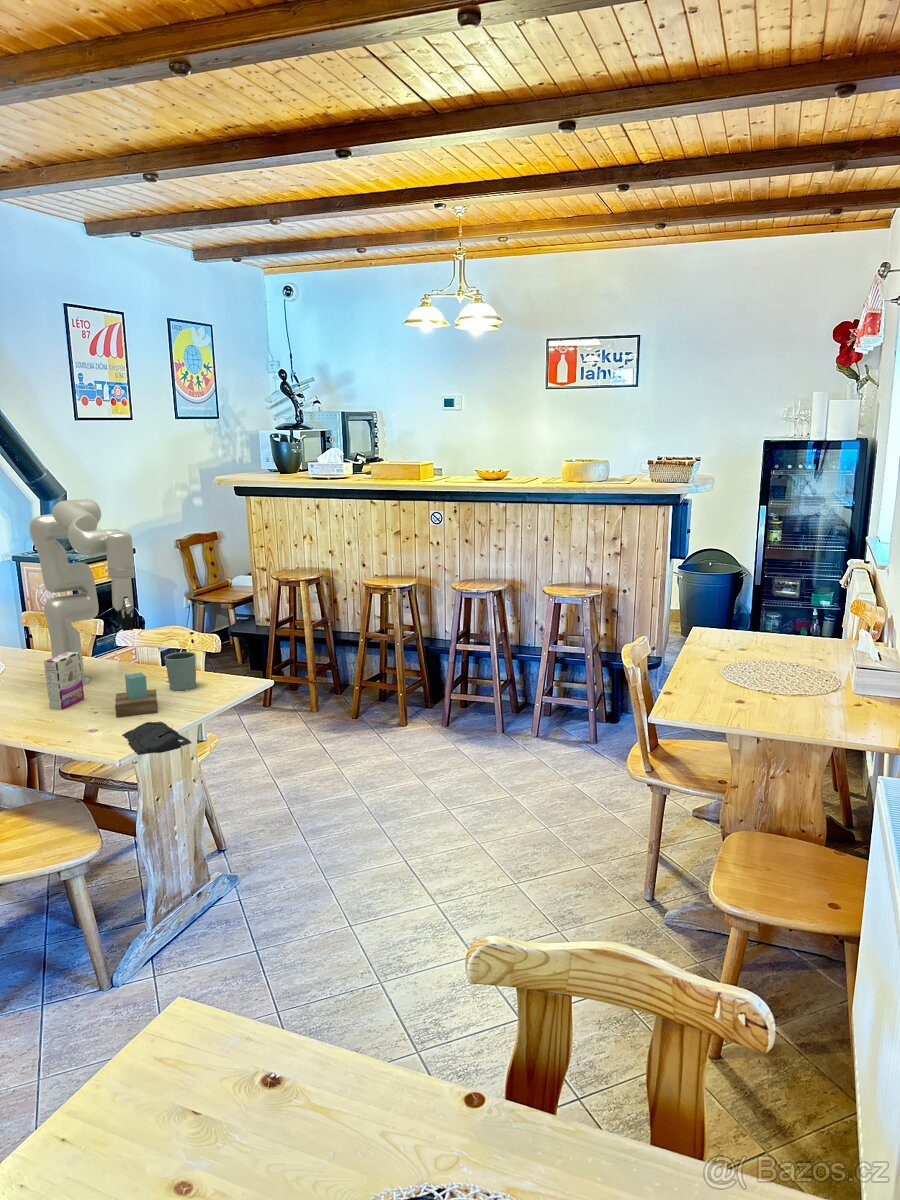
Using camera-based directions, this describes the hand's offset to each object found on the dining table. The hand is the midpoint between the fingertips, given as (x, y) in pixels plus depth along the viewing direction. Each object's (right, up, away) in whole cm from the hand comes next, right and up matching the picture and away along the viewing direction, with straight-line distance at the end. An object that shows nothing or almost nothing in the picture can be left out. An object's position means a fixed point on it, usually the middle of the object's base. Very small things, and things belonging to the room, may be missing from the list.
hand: (125, 626), depth 248 cm
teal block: (+2, -22, +4) cm, 23 cm away
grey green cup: (+9, -23, +27) cm, 36 cm away
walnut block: (+2, -27, +5) cm, 28 cm away
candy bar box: (-23, -26, +11) cm, 37 cm away
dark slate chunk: (+17, -33, -21) cm, 43 cm away
